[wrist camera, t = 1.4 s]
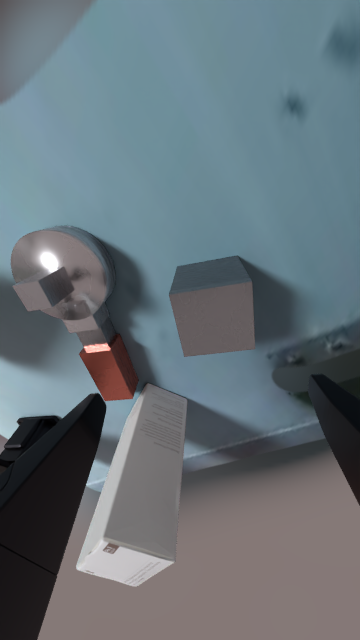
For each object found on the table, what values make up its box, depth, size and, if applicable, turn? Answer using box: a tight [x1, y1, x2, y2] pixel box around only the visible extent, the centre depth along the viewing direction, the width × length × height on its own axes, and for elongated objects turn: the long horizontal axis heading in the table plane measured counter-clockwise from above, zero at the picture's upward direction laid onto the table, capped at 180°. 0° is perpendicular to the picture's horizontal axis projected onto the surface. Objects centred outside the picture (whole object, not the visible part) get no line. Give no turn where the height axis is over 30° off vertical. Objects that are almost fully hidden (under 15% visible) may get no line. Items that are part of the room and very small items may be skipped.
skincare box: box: [76, 383, 187, 586], centre depth 23 cm, size 8×6×15 cm
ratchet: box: [11, 226, 139, 401], centre depth 20 cm, size 19×8×6 cm, turn 12°
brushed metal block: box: [169, 256, 255, 357], centre depth 18 cm, size 5×5×6 cm
